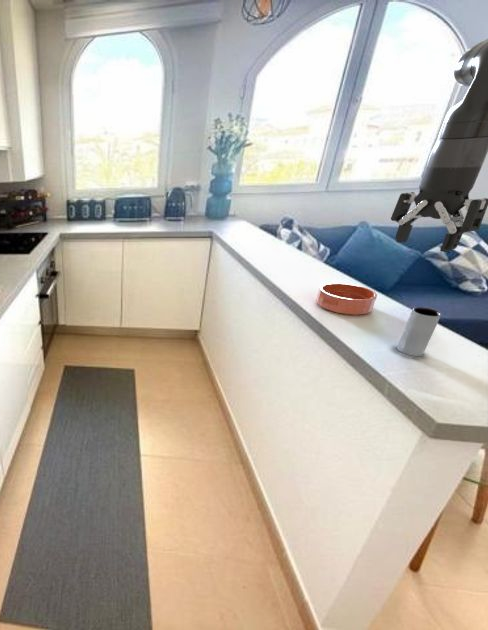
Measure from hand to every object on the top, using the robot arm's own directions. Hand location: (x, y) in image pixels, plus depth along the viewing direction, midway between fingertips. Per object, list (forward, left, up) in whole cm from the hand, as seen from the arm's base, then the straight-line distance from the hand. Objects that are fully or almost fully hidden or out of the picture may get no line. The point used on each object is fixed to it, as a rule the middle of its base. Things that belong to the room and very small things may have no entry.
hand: (422, 246), depth 73 cm
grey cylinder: (-4, +1, -24) cm, 25 cm away
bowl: (+11, -19, -24) cm, 32 cm away
